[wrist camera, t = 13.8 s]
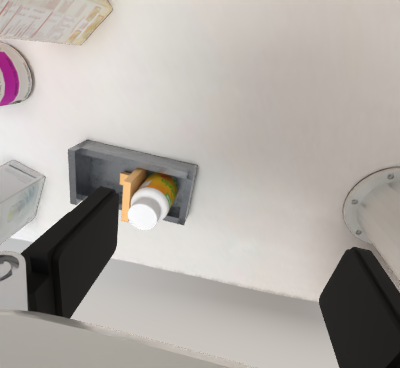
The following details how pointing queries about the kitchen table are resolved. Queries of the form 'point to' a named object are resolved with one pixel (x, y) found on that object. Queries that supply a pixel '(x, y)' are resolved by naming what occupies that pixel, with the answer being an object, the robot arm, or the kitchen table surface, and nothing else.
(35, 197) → the skincare box
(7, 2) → the coffeecake box
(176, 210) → the grey rectangular tray
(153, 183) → the supplement bottle
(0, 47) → the supplement can
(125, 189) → the block
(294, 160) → the kitchen table surface
